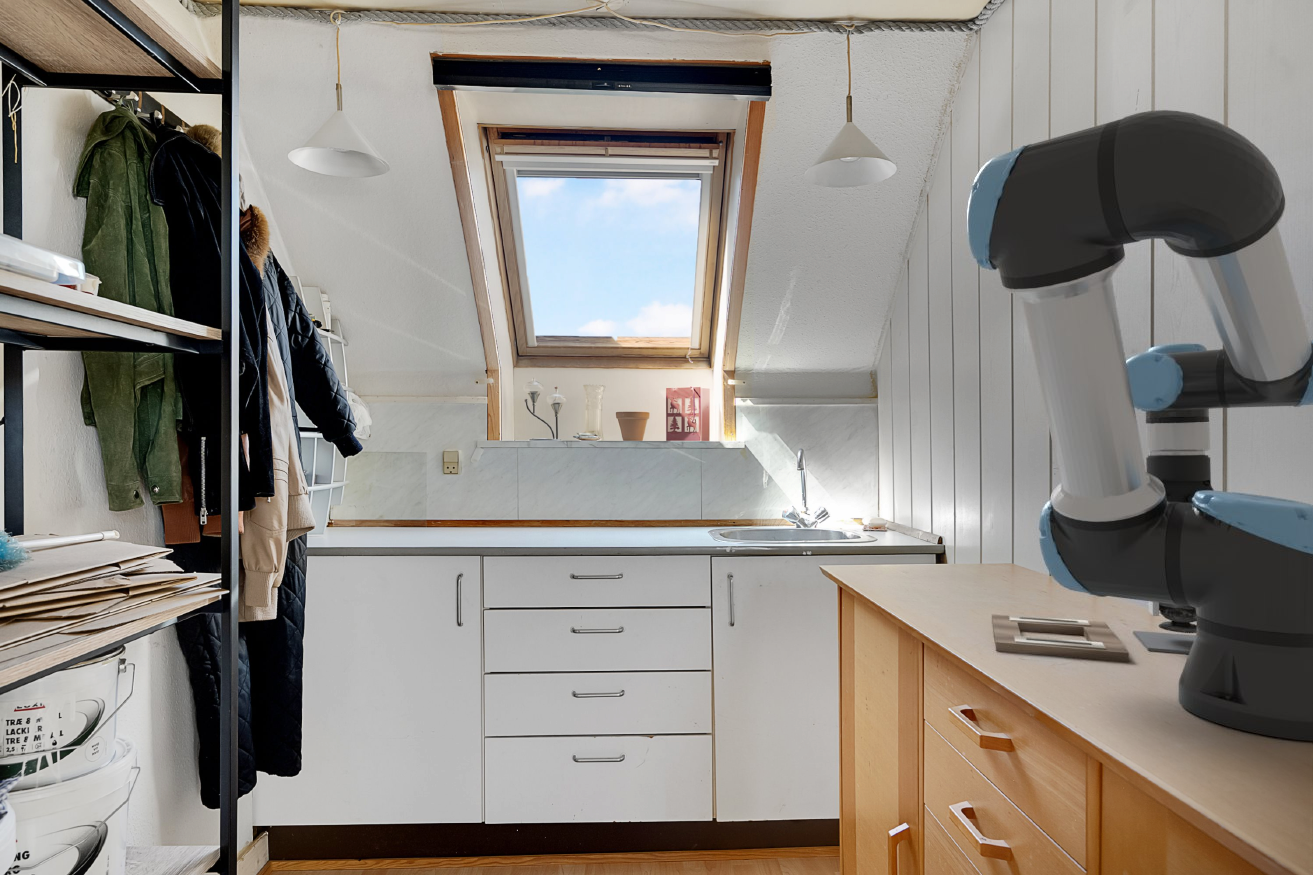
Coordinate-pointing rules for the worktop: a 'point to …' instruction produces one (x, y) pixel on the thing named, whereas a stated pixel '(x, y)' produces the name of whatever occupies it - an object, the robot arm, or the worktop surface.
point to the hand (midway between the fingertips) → (1180, 615)
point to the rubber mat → (1166, 641)
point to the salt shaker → (1178, 618)
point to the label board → (1096, 634)
